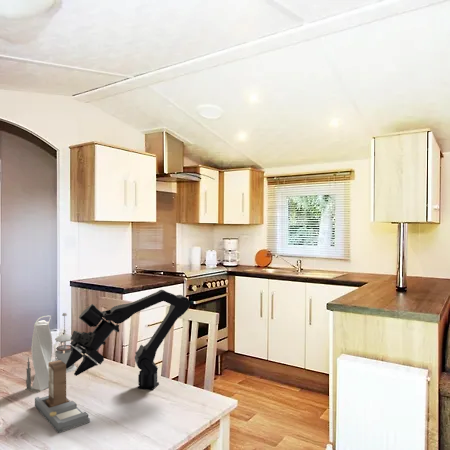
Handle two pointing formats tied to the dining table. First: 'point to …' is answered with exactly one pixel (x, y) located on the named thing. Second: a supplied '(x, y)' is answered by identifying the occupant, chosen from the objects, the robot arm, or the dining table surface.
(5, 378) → the dining table surface
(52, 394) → the wooden block
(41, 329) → the skyscraper
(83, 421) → the grey compartment tray
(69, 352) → the french press
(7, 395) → the dining table surface
